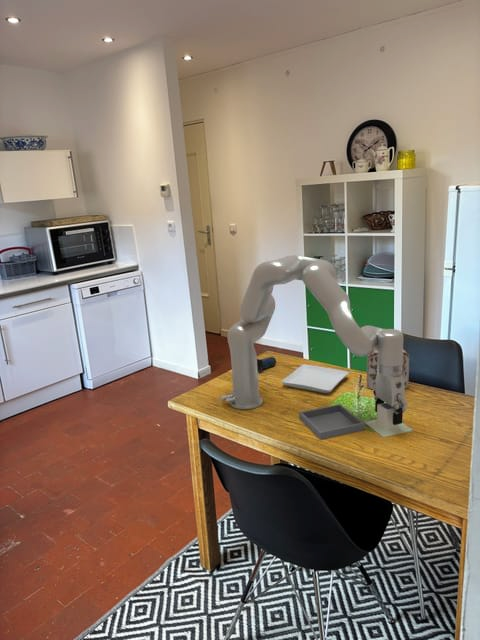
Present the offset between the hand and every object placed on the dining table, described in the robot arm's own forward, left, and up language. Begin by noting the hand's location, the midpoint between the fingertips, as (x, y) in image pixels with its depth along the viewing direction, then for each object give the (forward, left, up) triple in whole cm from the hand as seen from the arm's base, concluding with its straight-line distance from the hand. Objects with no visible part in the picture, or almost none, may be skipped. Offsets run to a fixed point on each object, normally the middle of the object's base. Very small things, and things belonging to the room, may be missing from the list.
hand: (388, 417), depth 160 cm
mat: (0, 0, -4) cm, 4 cm away
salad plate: (-4, +44, -4) cm, 44 cm away
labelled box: (0, 0, -3) cm, 3 cm away
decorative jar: (+19, +28, -4) cm, 34 cm away
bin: (-16, +9, -4) cm, 19 cm away
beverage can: (-17, +69, -4) cm, 71 cm away
